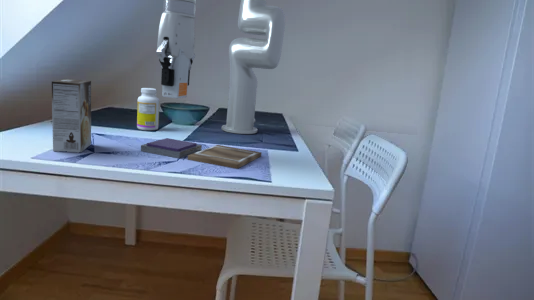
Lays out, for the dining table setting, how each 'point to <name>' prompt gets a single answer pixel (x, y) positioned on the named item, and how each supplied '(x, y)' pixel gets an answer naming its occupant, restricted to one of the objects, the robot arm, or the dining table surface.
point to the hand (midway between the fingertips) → (175, 84)
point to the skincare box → (178, 78)
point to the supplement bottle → (148, 110)
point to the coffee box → (71, 115)
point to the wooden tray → (225, 156)
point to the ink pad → (171, 148)
